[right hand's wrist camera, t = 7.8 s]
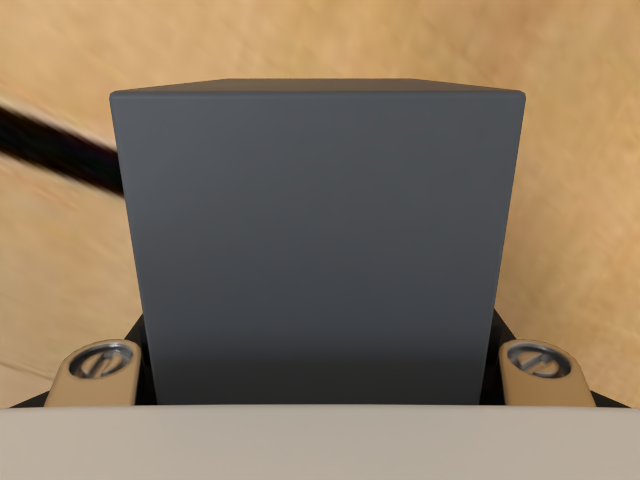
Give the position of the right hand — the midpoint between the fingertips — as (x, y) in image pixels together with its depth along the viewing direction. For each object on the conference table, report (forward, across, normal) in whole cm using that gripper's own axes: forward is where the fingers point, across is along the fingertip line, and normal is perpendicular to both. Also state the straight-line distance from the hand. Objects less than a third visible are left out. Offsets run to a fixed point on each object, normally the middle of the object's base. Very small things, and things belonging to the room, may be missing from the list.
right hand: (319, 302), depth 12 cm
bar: (+2, 0, +26) cm, 26 cm away
